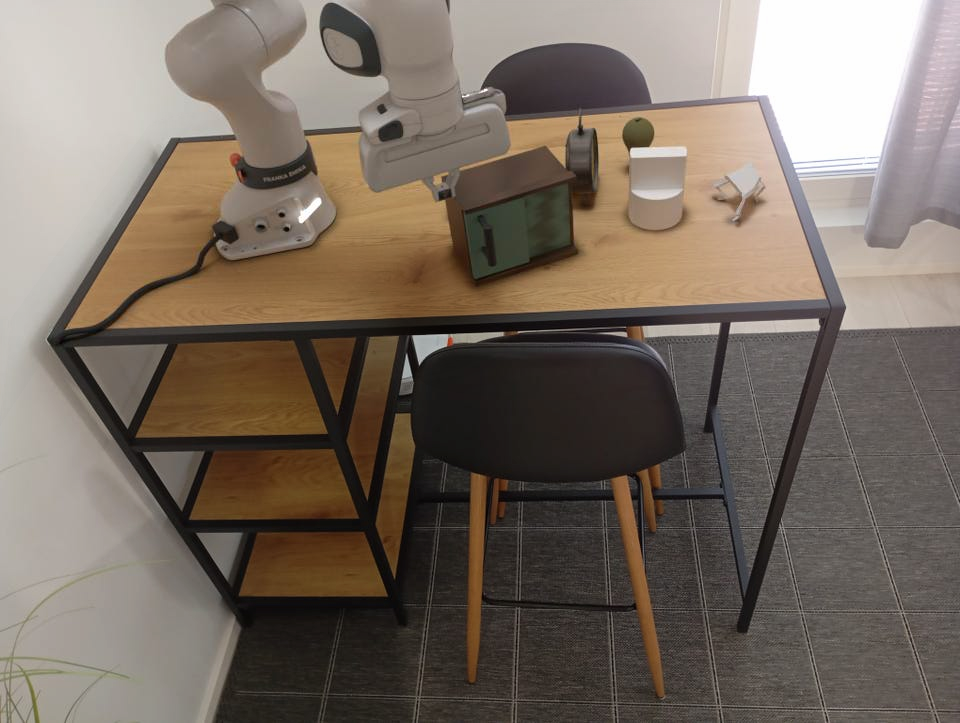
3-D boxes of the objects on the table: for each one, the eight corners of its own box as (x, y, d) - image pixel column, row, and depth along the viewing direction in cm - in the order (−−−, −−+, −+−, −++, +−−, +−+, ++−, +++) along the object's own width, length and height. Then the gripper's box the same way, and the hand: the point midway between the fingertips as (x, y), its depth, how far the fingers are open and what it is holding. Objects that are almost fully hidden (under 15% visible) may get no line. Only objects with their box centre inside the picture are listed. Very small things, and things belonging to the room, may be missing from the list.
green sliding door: (483, 294, 123) (474, 230, 115) (473, 276, 127) (463, 212, 118) (539, 276, 125) (534, 211, 116) (527, 259, 128) (522, 194, 120)
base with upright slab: (628, 230, 133) (629, 168, 124) (628, 199, 139) (629, 138, 130) (683, 229, 131) (688, 166, 123) (681, 198, 137) (686, 136, 129)
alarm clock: (594, 210, 138) (593, 126, 126) (563, 210, 139) (559, 126, 127) (600, 176, 145) (599, 93, 134) (570, 175, 146) (567, 93, 135)
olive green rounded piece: (645, 180, 143) (647, 129, 135) (616, 173, 145) (617, 124, 138) (657, 164, 146) (660, 114, 139) (629, 158, 148) (630, 109, 141)
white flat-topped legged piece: (708, 187, 139) (711, 162, 135) (758, 184, 138) (762, 159, 134) (718, 227, 130) (721, 202, 127) (770, 225, 129) (775, 200, 126)
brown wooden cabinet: (476, 287, 127) (464, 210, 116) (453, 247, 135) (440, 172, 124) (578, 254, 130) (576, 176, 119) (550, 217, 138) (545, 141, 127)
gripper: (495, 73, 104) (505, 165, 114) (345, 116, 101) (369, 207, 110) (512, 92, 100) (521, 187, 109) (357, 137, 96) (380, 230, 106)
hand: (444, 197), depth 110 cm, fingers closed
